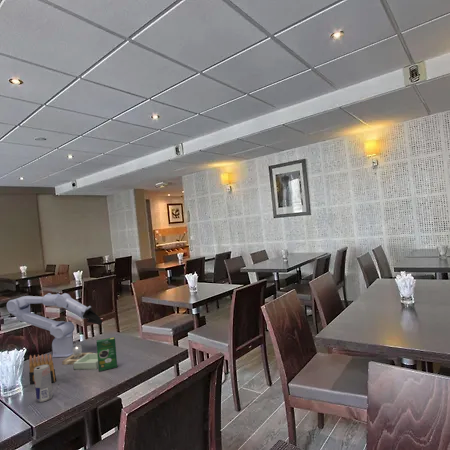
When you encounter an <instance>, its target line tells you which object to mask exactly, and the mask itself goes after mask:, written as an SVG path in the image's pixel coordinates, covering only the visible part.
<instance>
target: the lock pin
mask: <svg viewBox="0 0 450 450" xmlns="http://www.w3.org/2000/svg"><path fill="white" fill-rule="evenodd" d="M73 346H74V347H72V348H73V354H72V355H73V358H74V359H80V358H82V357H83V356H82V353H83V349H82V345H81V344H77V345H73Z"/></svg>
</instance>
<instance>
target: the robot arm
mask: <svg viewBox="0 0 450 450" xmlns="http://www.w3.org/2000/svg"><path fill="white" fill-rule="evenodd" d="M31 304H34V305H36V304H42V305H44V306H46V307H47V306H48V307H50V306H51V307H52V306H53V307H55V306H56V307H57V308H63V309H66V310H67V311H69V312H71V313H72V314H74V315H76V316H78V318H79V317H80V318H81V319H82V320H83V319H84V320H85V319H88V320H87V321H86V322H87V323H92V324H95V325H99V326H101V325H102V323H103V322H104V321H103V320H102V319H101V317H100V316H99V315H98V314H97V313H95V312H94V310H93V309H92V306H91V305H89V306H87V305H85V304H82V303H81V302H79V301H77V300H76V299H74V298H72V296H71V295H70V294H69V293H66V292H64V293H62V294H60V293H56V294H54V293H53V294H52V293H51V292H48V293H46V294H45V295H43V296H38V295H35V296H33V295H26V296H25V295H23V296H20V297H17V298H14V299H9V300H8V301H7V302H6V310H7V311H8V314H11V315H13V316H14V317H15V318H16V319H17V320H19V321H20V322H23V323H25V324H28V325H31V326H35V327H37V328H39V329H43V330H46V331H49V334H50V336H53V337H54V338H53V340H52V343H51V350H52V355H51V356H52V358H68V357H70V356H71V355H73V348H72V347H74V346H75V345H74V339H73V334H74V333H73V332H74V331H75V325H74V323H73V322H71V321H64V320H60V321H58V320H54V319H51V318H48V317H45V316H42V315H40V314H39V315H38V314H36V313H34V312H31Z"/></svg>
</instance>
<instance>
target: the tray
mask: <svg viewBox="0 0 450 450" xmlns="http://www.w3.org/2000/svg"><path fill="white" fill-rule="evenodd" d="M72 365H73V370H74V371H84V370H85V371H86V370H88V371H89V370H97V369H99V368H98V356H97V353H94V352H93V353H92V354H86V355H85V356H83V357H82V358H80V359H79V360H78V361H76V362H75V363H73V364H72Z"/></svg>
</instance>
